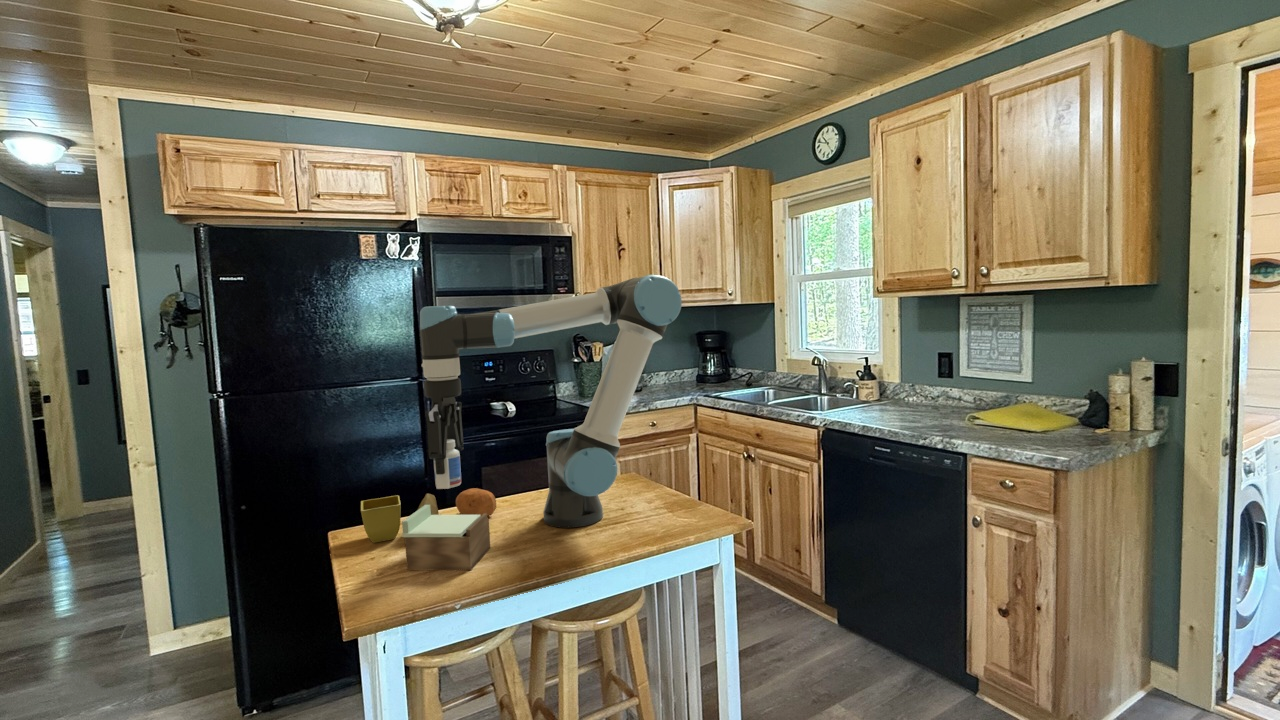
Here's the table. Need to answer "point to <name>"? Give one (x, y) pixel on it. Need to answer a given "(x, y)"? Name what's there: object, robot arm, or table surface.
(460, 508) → the potato
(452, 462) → the pill bottle
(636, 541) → the table surface
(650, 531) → the table surface
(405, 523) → the lid
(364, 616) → the table surface
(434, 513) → the rock
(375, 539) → the flower pot
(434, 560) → the box
